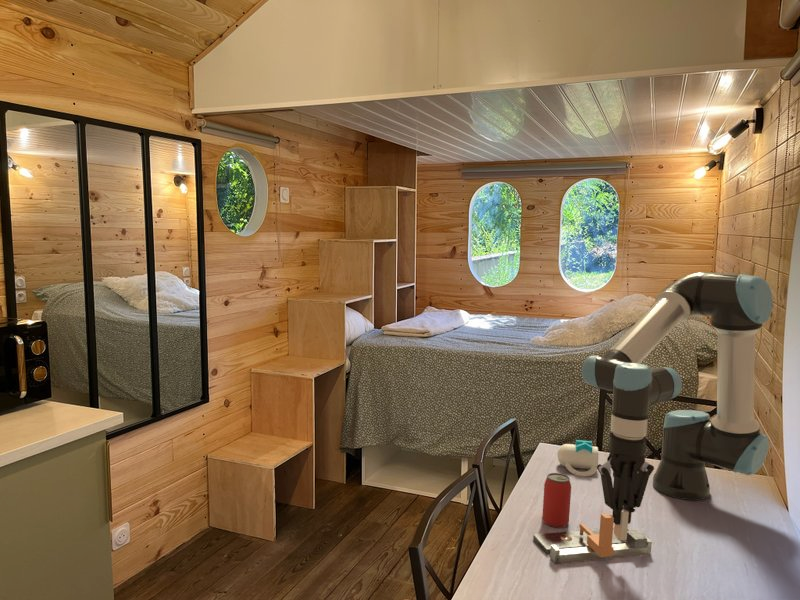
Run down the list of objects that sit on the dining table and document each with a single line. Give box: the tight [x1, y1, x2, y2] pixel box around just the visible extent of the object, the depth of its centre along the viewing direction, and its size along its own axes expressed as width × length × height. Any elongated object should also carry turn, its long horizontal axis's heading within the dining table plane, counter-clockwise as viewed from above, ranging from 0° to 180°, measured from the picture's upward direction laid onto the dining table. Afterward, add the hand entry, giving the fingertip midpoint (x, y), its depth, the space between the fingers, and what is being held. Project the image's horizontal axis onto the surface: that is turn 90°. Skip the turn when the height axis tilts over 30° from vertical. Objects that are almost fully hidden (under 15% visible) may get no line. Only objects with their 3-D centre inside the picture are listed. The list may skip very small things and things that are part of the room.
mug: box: [556, 439, 599, 477], centre depth 191 cm, size 12×9×12 cm
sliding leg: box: [579, 512, 615, 557], centre depth 140 cm, size 3×12×10 cm, turn 13°
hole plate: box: [532, 527, 627, 555], centre depth 146 cm, size 24×7×1 cm, turn 103°
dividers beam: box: [549, 526, 653, 565], centre depth 142 cm, size 24×9×4 cm, turn 103°
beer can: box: [541, 472, 572, 528], centre depth 155 cm, size 7×7×12 cm
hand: (620, 537), depth 136 cm, fingers closed
